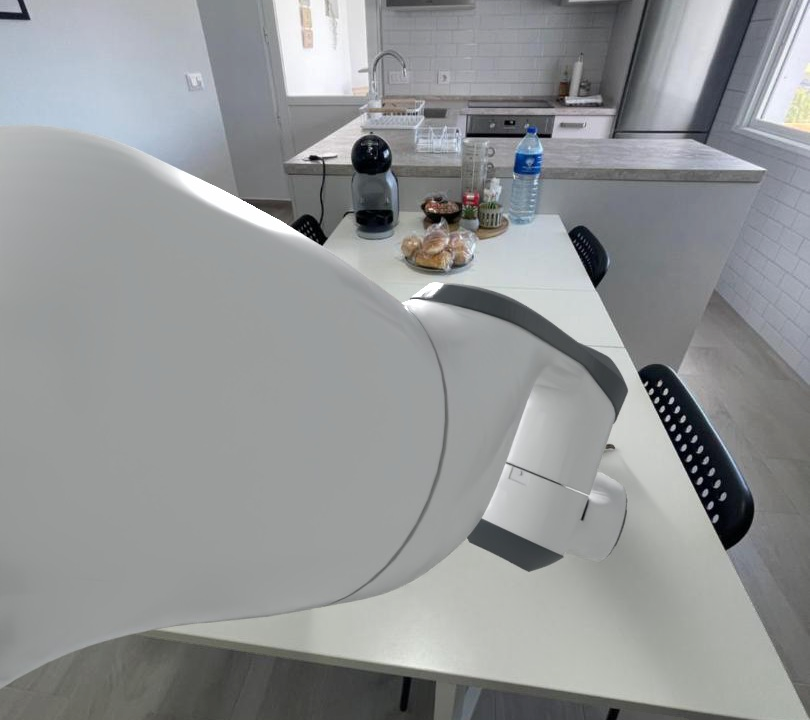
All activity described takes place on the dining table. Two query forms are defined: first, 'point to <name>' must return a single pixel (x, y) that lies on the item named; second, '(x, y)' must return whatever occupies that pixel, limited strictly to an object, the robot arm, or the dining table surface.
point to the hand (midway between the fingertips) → (352, 414)
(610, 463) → the dining table surface
